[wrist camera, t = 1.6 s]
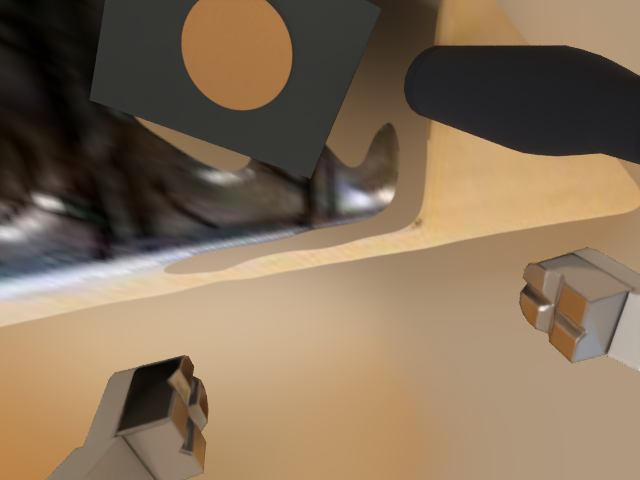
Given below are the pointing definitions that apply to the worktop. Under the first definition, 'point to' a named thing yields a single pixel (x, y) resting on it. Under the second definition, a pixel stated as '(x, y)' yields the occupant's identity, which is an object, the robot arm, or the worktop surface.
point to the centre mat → (235, 70)
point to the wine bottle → (530, 98)
